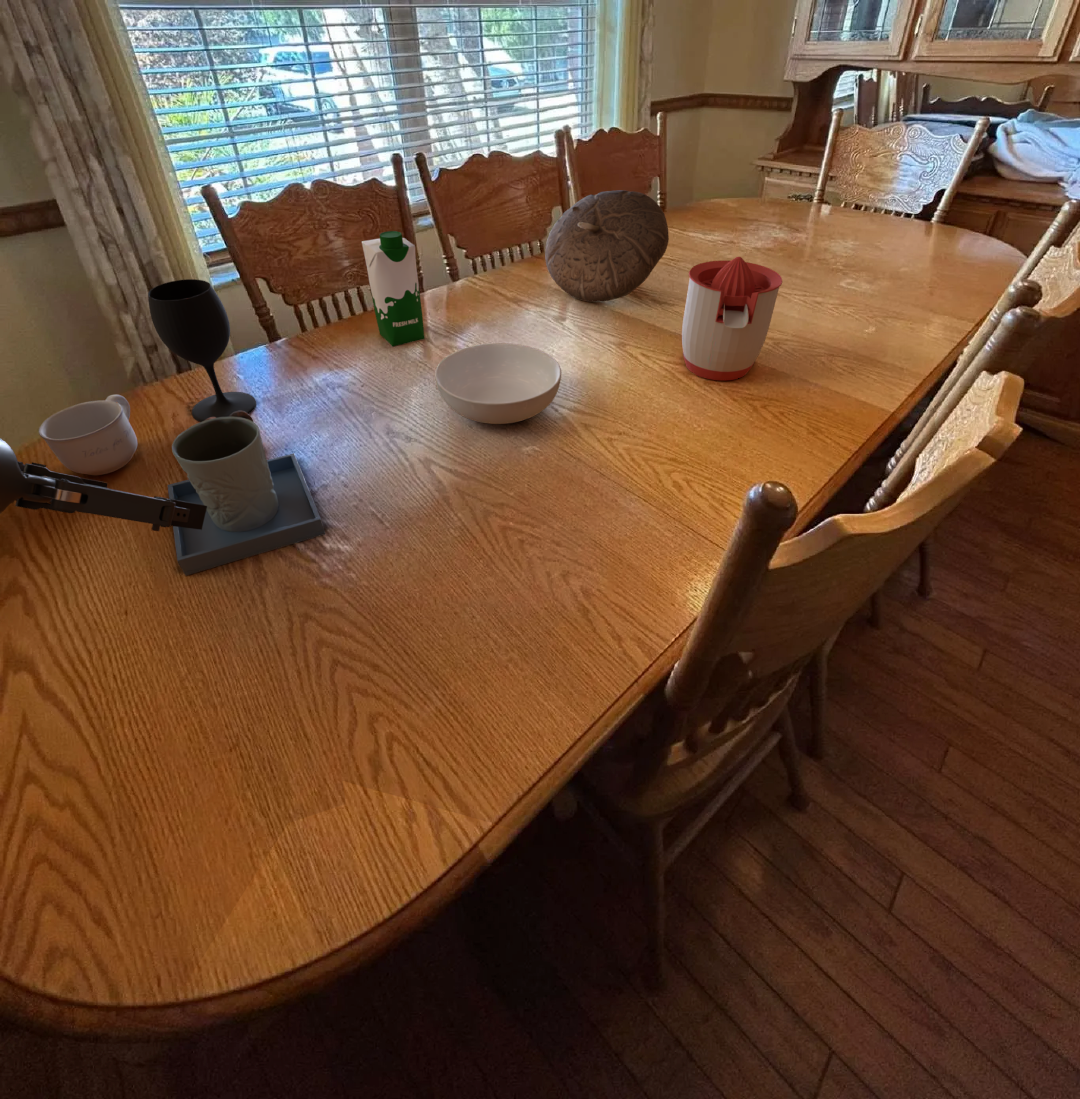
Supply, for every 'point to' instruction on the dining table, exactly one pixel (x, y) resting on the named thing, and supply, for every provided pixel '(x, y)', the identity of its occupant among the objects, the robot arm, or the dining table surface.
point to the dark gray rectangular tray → (285, 528)
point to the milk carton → (394, 288)
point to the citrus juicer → (727, 317)
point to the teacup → (92, 436)
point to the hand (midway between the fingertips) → (151, 505)
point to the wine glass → (197, 337)
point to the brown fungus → (606, 245)
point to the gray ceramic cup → (228, 471)
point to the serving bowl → (498, 382)
